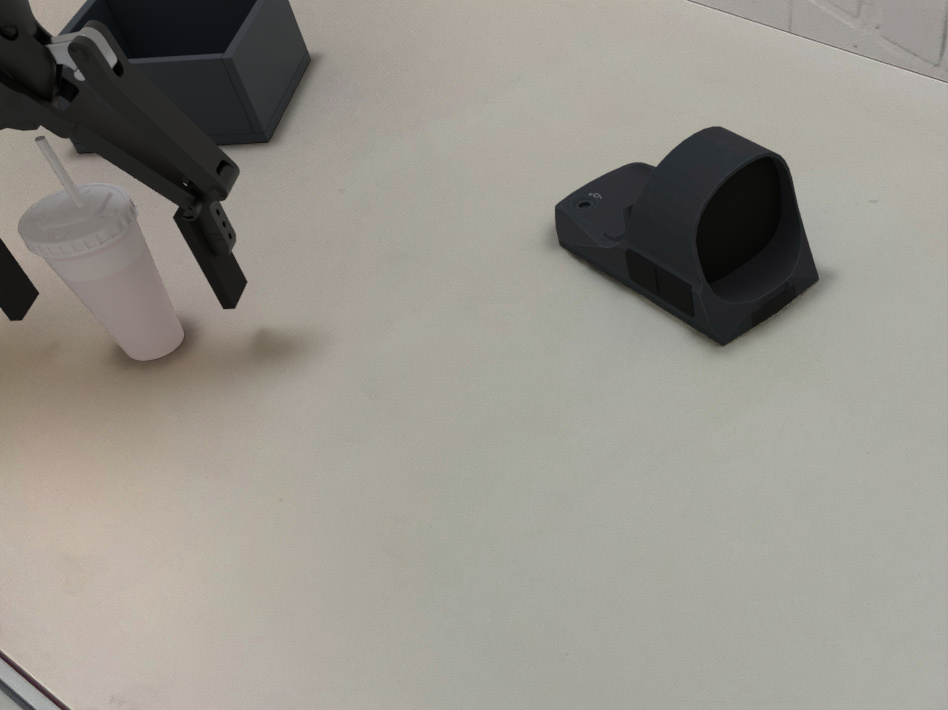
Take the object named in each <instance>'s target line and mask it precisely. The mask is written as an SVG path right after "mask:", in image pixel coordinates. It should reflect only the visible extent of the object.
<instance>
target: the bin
mask: <svg viewBox="0 0 948 710" xmlns="http://www.w3.org/2000/svg"><path fill="white" fill-rule="evenodd" d="M291 5H292V4H291V2H290V0H86V1H84V3H82V5H81V7H80V8H79V9H78V10H77V11H76V13H74V15H73V16H72V18H71V19H69V21H68V22H67V23H66V24H65V26H64V27H63V28H62V29H61V31H60V32H58V34H57V35H56V36H59V35H64V34H69V33H74V32H79V31H80V30H81V29H82V28H83V27H84V25H85V24H86V23H87V22H88V21H90V20H96V21H99V22H101V23H103V24H104V25H105V26H106V27H107V28H108V29H109V31H110V32H111V34H112V35H113V37H114V39H115V40H116V42H117V43H118V45H119V46H120V48H121V49H122V51H123V53H124V54H125V56H126V57H127V59H128V60H129V62H130V63H131V64H132V65H133V66H135V67H136V68H137V69H138V70H139V71H140V72H141V73H142V74H143V75H144V76H145V77H146V78H147V79H148V80H149V81H150V82H151V83H152V84H153V85H154V86H155V87H156V88H157V89H159V90H160V91H161V92H162V93H163V94H164V95H165V96H166V97H167V98H168V99H169V100H170V101H171V102H172V103H173V104H174V105H175V106H176V107H177V108H178V109H179V110H180V111H182V112H183V113H184V114H185V115H186V116H187V117H188V118H189V119H190V120H191V121H192V122H193V123H194V124H195V125H196V126H197V127H198V128H199V129H200V130H201V131H202V132H203V133H204V134H206V135H207V136H208V137H209V138H210V139H211V140H212V141H213V142H214V143H215V144H216V145H217V146H222V145H223V146H224V145H237V144H255V143H268V142H270V139H271V137H272V135H273V134H274V132H275V130H276V128H277V126H278V124H279V122H280V120H281V118H282V116H283V114H284V112H285V110H286V108H287V107H288V104H289V102H290V100H291V98H292V96H293V95H294V92H295V91H296V89H297V86H298V84H299V83H300V81H301V79H302V77H303V75H304V74H305V71H306V69H307V67H308V65H309V64H310V61H311V59H312V58H311V54H310V52H309V50H308V48H307V45H306V42H305V39H304V36H303V33H302V31H301V28H300V26H299V24H298V22H297V21H298V20H297V19H296V18H297V17H296V16H295V13H294V9H293V8H292V6H291ZM63 70H64V71H65V72H67V73H68V74H70V75H71V76H73V77H74V74H73V72H74V70H73V69H71V68H70V67H68V66H66V65H63ZM74 78H75V77H74ZM80 82H82V83H83V84H85V85H86V86H87V87H89V88H90V89H92V87H91V86H90V85H89V83H88V82H87V81H86V80H85V81H80ZM92 90H93V89H92ZM93 91H94V90H93ZM94 92H95V91H94ZM95 94H96V96H97V99H98V100H99V101H100V102H101V103H102V104H104V105H105V106H107V107H108V108H110V109H111V110H113V109H112V108H111V107H110V106H109V105H108V104H107V103H106V102H105V101H104V100H103V99H102V98H101V97H100V96H99V95H98V94H97V93H96V92H95ZM69 105H70V102H68V101H67V100H66V99H64V98H63V97H61V96H60V95H59V101H58V105H57V108H58V109H60V110H66V109H67V108H68V106H69ZM113 111H114V110H113ZM114 112H115V111H114ZM116 113H117V112H116ZM117 114H118V113H117ZM68 139H69V141H70V142H71V144H72V146H73V147H74V149H75V151H76V152H77V154H83V153H94V152H93V151H92V150H90V149H88V148H87V147H85V146H84V145H82V144H81V143H79V142H77V141H76V140H74V139H71V138H68Z"/></svg>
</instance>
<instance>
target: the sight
mask: <svg viewBox="0 0 948 710" xmlns="http://www.w3.org/2000/svg"><path fill="white" fill-rule="evenodd" d="M796 194H797V193H796V188H795V183H794V180H793V176H792V171H791V169H790V166H789V164H788V163H787V161H786V159H785V158H784V157H783V156H782V155H781V154H779V153H777V152H775V151H773V150H771V149H769V148H766V147H765V146H762V145H760V144H758V143H756V142H754V141H752V140H751V139H748V138H746V137H744V136H742V135H740V134H738V133H736V132H734V131H732V130H729V129H727V128H726V127H723V126H720V125H714V126H712V125H711V126H708V127H705V128H702V129H700V130H698V131H697V132H694V133H693V134H691V135H689V136H688V137H686V138H685V139H683V140H682V141H681V142H680V143H678V144H677V145H676V146H674V147H673V148H672V149H671V150H670V152H668V153H667V154H666V155H665V156H664V157H663V158H662V159H661V160H660V161H659V163H658V164H657V165H656V166H655V165H652V164H649V163H646V162H641V161H634V162H629V163H626V164H624V165H622V166H619V167H617V168H615V169H613V170H610V171H608V172H606V173H604V174H602V175H600V176H598V177H596V178H594V179H593V180H590V181H588V182H587V183H585V184H584V185H582V186H581V187H579V188H577V189H575V190H574V191H572V192H571V193H569V194H568V195H566V196H565V197H564V198H563V199H561V200H560V201H559V202H557V203H556V204H555V206H554V223H555V231H556V234H557V240H558V243H559V245H560V246H561V247H563V248H564V249H566V250H568V251H569V252H571V253H573V254H574V255H576V256H577V257H579V258H580V259H582V260H584V261H585V262H587V263H588V264H590V265H592V266H594V267H595V268H597V269H598V270H600V271H601V272H603V273H604V274H606V275H608V276H609V277H611V278H613V279H614V280H616V281H617V282H619V283H620V284H623V286H626V287H627V288H629V289H630V290H632V291H633V292H635V293H637V294H638V295H639V296H642V298H645V299H646V300H648V301H650V302H651V303H653V304H655V306H658V307H659V308H661V309H662V310H664V311H665V312H667V313H669V314H671V315H672V316H674V317H675V318H677V319H678V320H680V321H681V322H683V323H685V324H687V325H688V326H690V327H691V328H693V329H694V330H696V331H697V332H699V333H701V334H702V335H704V336H705V337H707V338H709V339H710V340H712V341H713V342H715V343H716V344H718V345H720V346H722V347H723V346H726V345H728V344H729V343H730V342H732V341H734V340H735V339H737V338H739V337H741V336H742V335H743V334H745V333H747V332H748V331H750V330H752V329H753V328H755V327H757V326H759V325H760V324H761V323H763V322H765V321H766V320H768V319H769V318H771V317H773V316H774V315H775V314H777V313H778V312H779V311H781V310H782V309H784V308H785V307H786V306H787V305H789V304H790V303H791V302H792V301H794V300H795V299H796V298H797V297H799V296H800V295H802V294H803V293H804V292H805V291H806V290H808V289H809V288H810V287H812V285H814V284H815V283H817V282H818V281H819V280H820V275H819V273H818V270H817V266H816V262H815V259H814V256H813V253H812V249H811V246H810V243H809V239H808V236H807V232H806V229H805V225H804V222H803V218H802V215H801V214H802V213H801V211H800V208H799V207H800V206H799V203H798V199H797V195H796Z"/></svg>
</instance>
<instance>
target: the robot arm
mask: <svg viewBox="0 0 948 710" xmlns="http://www.w3.org/2000/svg"><path fill="white" fill-rule="evenodd" d="M63 65H66V66H68V67H70V68H71V69H73V70H74V72H73V74H74V77H75V78H74V77H73V76H71V75H70V74H68V73H67V72H65V71H64V70H63ZM85 80H86V81H87V82H88V83H89V85H90V86H91V87H92V89H93V90H94V91H95V92H96V93H97V94H98V95H99V96H100V97H101V98H102V99H103V100H104V101H105V102H106V103H107V104H108V105H109V106H110V107H111V108H112V109H113V110H114V111H115V112H114V111H113V110H111V109H110V108H108V107H107V106H105V105H104V104H102V103H101V102H100V101H99V100H98V99H97V96H96V94H95V92H94V91H93V90H92V89H90V88H89V87H87V86H86V85H85V84H83V83H82V82H80V81H85ZM59 95H60V96H61V97H63V98H64V99H66V100H67V101H68V102H70V105H69V106H68V108H67V109H66V110H60V109H58V108H57V105H58V101H59ZM116 112H117V113H118V114H117V113H116ZM40 127H43V128H44V129H46V130H47V131H48V132H50V133H52V134H53V135H55V136H57V137H58V138H61V139H64V140H66V139H67V140H68V139H69V138H71V139H74V140H76V141H77V142H79V143H81V144H82V145H84V146H85V147H87V148H88V149H90V150H92V151H93V152H92V153H95V154H96V155H98V156H99V157H101V158H103V159H104V160H106V161H107V162H108V163H110V164H112V165H113V166H115V167H116V168H118V169H119V170H121V171H122V172H125V173H126V174H128V175H129V176H131V177H132V178H133V179H135V180H137V181H138V182H140V183H142V184H143V185H145V186H146V187H148V188H149V189H151V190H152V191H154V192H155V193H157V194H158V195H160V196H162V197H164V198H165V199H166V200H168V201H170V202H171V203H172V204H174V205H176V206H177V209H176V211H175V213H174V214H173V216H172V219H173V221H174V223H175V225H176V226H177V228H178V230H179V231H180V234H181V235H182V237H183V239H184V241H185V243H186V244H187V247H188V249H189V250H190V252H191V254H192V255H193V257H194V259H195V261H196V262H197V265H198V266H199V268H200V270H201V272H202V273H203V275H204V277H205V279H206V281H207V283H208V284H209V286H210V288H211V290H212V292H213V294H214V295H215V297H216V299H217V300H218V303H219V304H220V307H221V309H222V310H235V309H236V308H237V307H238V304H239V302H240V299H241V298H242V296H243V293H244V291H245V288H246V287H247V284H248V282H249V281H248V280H247V278H246V275H245V273H244V272H243V270H242V268H241V266H240V264H239V262H238V260H237V258H236V256H235V255H234V252H233V249H234V248H235V245H236V243H237V233H236V231H235V229H234V227H233V226H232V223H231V221H230V220H229V217H228V216H227V214H226V211H225V209H224V207H223V205H222V203H221V202H224V201H226V200H227V199H228V197H229V195H230V194H231V191H232V189H233V187H234V185H235V183H236V182H237V180H238V178H239V176H240V173H241V170H240V166H239V165H238V164H237V163H236V162H235V161H234V160H233V159H232V158H230V156H228V154H227V153H226V152H225V151H224V150H222V149H221V148H220V147H219V145H216V144H215V143H214V142H213V141H212V140H211V139H210V138H209V137H208V136H207V135H206V134H204V133H203V132H202V131H201V130H200V129H199V128H198V127H197V126H196V125H195V124H194V123H193V122H192V121H191V120H190V119H189V118H188V117H187V116H186V115H185V114H184V113H183V112H182V111H180V110H179V109H178V108H177V107H176V106H175V105H174V104H173V103H172V102H171V101H170V100H169V99H168V98H167V97H166V96H165V95H164V94H163V93H162V92H161V91H160V90H159V89H157V88H156V87H155V86H154V85H153V84H152V83H151V82H150V81H149V80H148V79H147V78H146V77H145V76H144V75H143V74H142V73H141V72H140V71H139V70H138V69H137V68H136V67H135V66H133V65H132V64H131V63H130V62H129V60H128V59H127V57H126V56H125V54H124V53H123V51H122V49H121V48H120V46H119V45H118V43H117V42H116V40H115V39H114V37H113V35H112V34H111V32H110V31H109V29H108V28H107V27H106V26H105V25H104V24H103V23H101V22H99V21H96V20H90V21H88V22H87V23H86V24H85V25H84V27H83V28H82V29H81V30H80V31H79V32H74V33H69V34H64V35H59V36H57V35H54V36H53V34H51V33H50V32H49V31H48V30H47V29H45V27H44V26H43V25H42V24H41V22H39V20H37V18H36V17H35V15H34V13H33V11H32V8H31V4H30V1H29V0H0V131H3V130H6V129H10V130H16V131H21V132H28V131H29V132H30V131H37V130H39V128H40ZM40 294H41V293H40V292H39V290H38V289H37V288H36V286H35V284H34V283H33V282H32V280H31V279H30V277H29V276H28V275H27V273H26V272H25V270H24V269H23V268H22V266H21V264H20V263H19V262H18V261H17V259H16V258H15V256H14V255H13V254H12V252H11V251H10V249H9V247H8V246H7V245H6V243H5V242H4V240H3V239H2V238H1V237H0V309H1V311H2V312H3V313H4V315H5V316H6V317H7V319H8V320H9V321H10V322H18V321H19V322H21V321H23V320H24V318H25V317H26V315H27V313H29V310H30V309H31V308H32V306H33V305H34V303H35V302H36V300H37V298H38V297H39V295H40Z"/></svg>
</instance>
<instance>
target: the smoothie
mask: <svg viewBox="0 0 948 710" xmlns="http://www.w3.org/2000/svg"><path fill="white" fill-rule="evenodd" d="M34 142H35V143H36V145H37V146H38V148H39V149H40V151H41V153H42V154H43V156H44V157H45V160H46V161H47V162H48V164H49V165H50V168H51V169H52V170H53V172H54V174H55V175H56V177H57V178H58V179H59V182H60V183H61V185H62V186H63V188H61V189H59V190H56V191H54V192H52V193H50V194H47V195H46V196H44V197H42V198H40V199H39V200H38V201H36V202H35V203H33V204H32V205H31V206H30V207H28V208H27V209H26V210H25V212H24V213H23V214H22V215H21V217H20V219H19V221H18V224H17V233H18V235H19V236H20V238H21V240H22V241H23V243H24V245H25V247H26V248H27V250H28V252H30V253H32V254H33V255H35V256H37V257H41V258H42V259H43V260H44V261H45V263H47V265H48V266H49V267H50V269H52V271H53V272H54V273H55V274H56V275H57V276H58V277H59V278H60V280H61V281H62V282H63V283H64V285H66V287H68V289H69V290H70V291H71V292H72V293H73V295H74V296H76V298H77V299H78V301H80V302H81V304H82V305H83V306H84V307H85V308H86V310H87V311H88V312H89V313H90V314H91V315H92V316H93V317H94V319H95V320H96V321H97V322H98V323H99V324H100V325H101V327H103V329H104V330H105V331H106V332H107V333H108V335H109V336H110V337H111V338H112V339H113V340H114V342H116V343H117V345H118V346H119V347H120V348H121V349H122V351H123V352H124V353H125V354H126V355H127V356H128V357H129V358H130V359H133V360H136V361H142V362H143V361H144V362H145V361H146V362H147V361H153V360H156V359H160V358H163V357H165V356H167V355H169V354H171V353H172V352H174V351H175V350H176V349H177V348H179V347H180V345H181V344H182V343H183V341H184V338H185V331H184V330H183V326H182V324H181V322H180V320H179V316H178V314H177V312H176V309H175V307H174V304H173V303H172V300H171V298H170V295H169V292H168V290H167V289H166V286H165V284H164V281H163V279H162V277H161V274H160V272H159V269H158V267H157V265H156V262H155V260H154V258H153V254H152V252H151V250H150V248H149V245H148V243H147V241H146V238H145V236H144V233H143V230H142V229H141V227H140V224H139V222H138V220H137V219H138V216H139V210H138V206H137V204H136V203H135V202H134V201H133V199H132V197H131V195H130V193H129V192H128V191H127V190H126V189H125V188H124V187H122V186H119V185H117V184H114V183H110V182H87V183H86V182H85V183H80V184H75V182H73V180H72V178H71V177H70V175H69V173H68V172H67V170H66V168H65V167H64V165H63V163H62V162H61V160H60V158H59V157H58V156H57V154H56V152H55V151H54V149H53V147H52V145H51V144H50V142H49V141H48V139H47V137H46V136H45V135H39V136H36V137H34Z"/></svg>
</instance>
